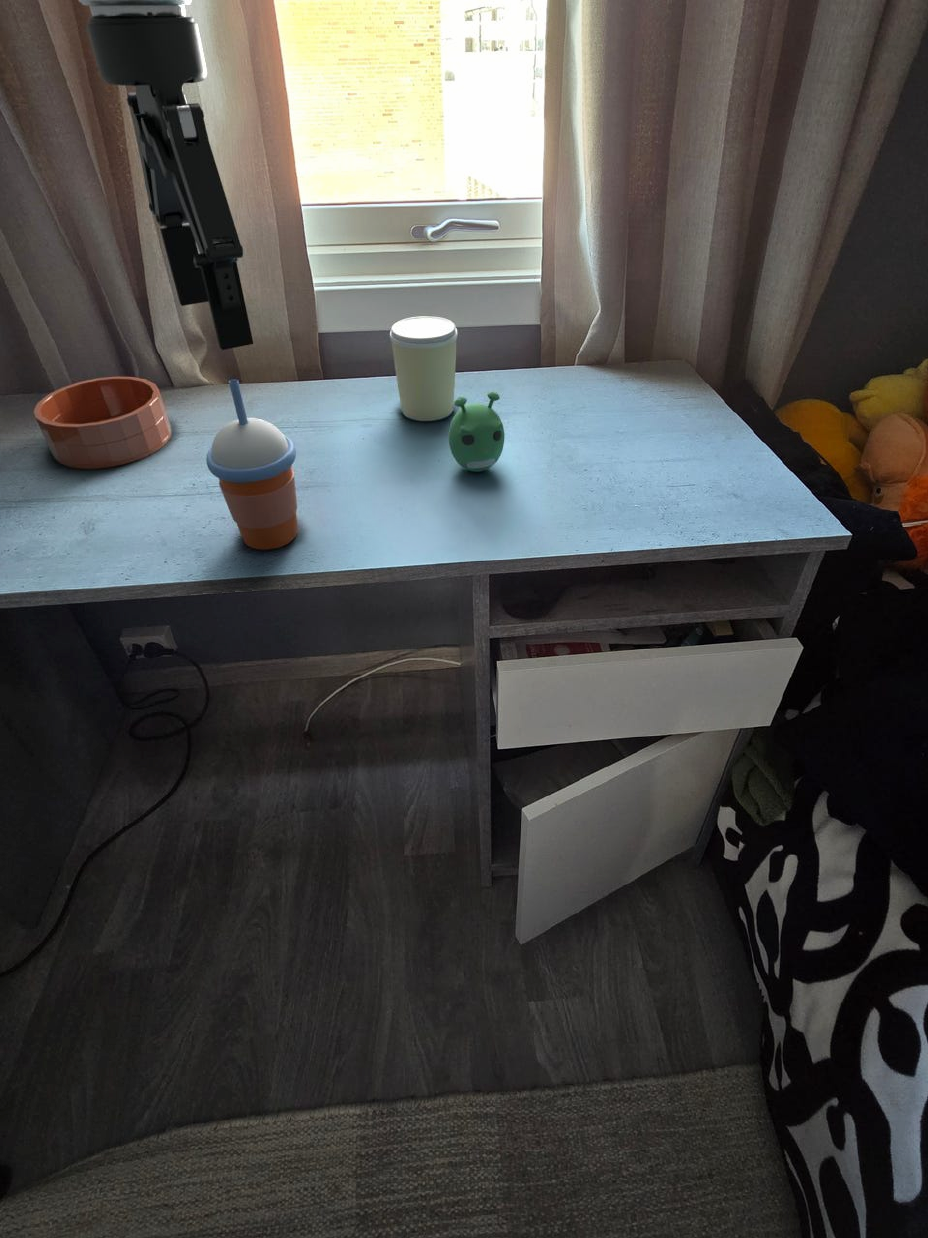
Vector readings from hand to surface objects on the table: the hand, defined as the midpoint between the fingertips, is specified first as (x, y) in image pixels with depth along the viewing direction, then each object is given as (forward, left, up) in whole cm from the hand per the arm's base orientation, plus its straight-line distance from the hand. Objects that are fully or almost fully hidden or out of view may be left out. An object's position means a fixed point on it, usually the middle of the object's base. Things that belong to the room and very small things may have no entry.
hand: (214, 323), depth 63 cm
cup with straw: (0, 0, -24) cm, 24 cm away
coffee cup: (+31, +19, -24) cm, 44 cm away
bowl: (-11, +34, -24) cm, 43 cm away
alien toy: (+28, 0, -24) cm, 37 cm away
